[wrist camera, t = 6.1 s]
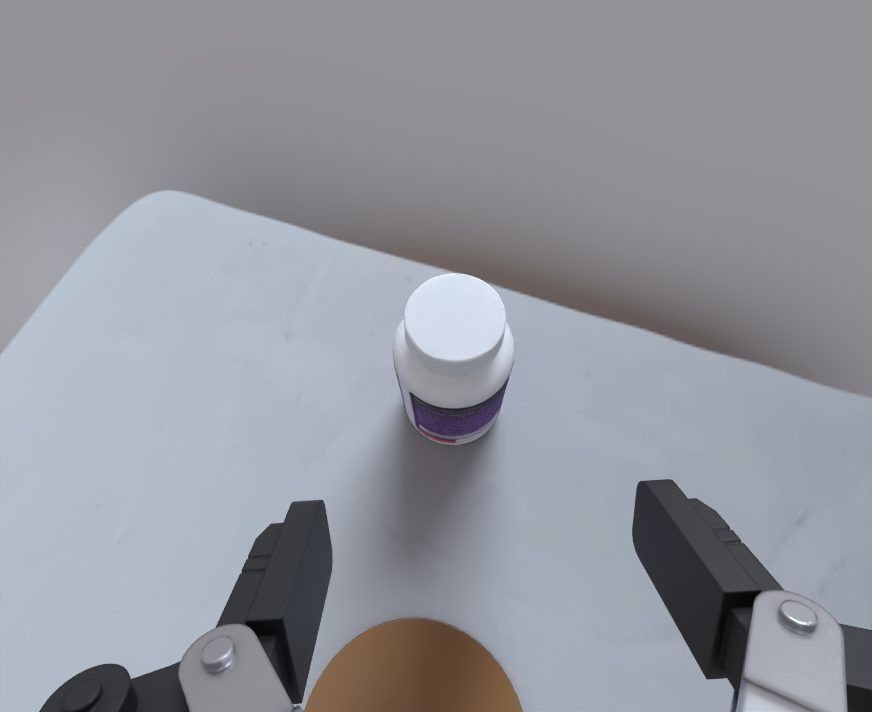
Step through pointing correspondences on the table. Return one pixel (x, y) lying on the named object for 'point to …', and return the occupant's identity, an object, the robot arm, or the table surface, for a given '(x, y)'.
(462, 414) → the pill bottle
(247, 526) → the table surface
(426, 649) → the coaster
